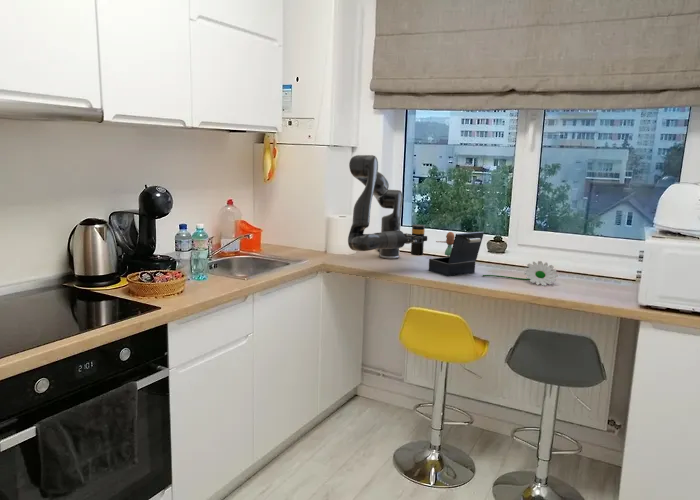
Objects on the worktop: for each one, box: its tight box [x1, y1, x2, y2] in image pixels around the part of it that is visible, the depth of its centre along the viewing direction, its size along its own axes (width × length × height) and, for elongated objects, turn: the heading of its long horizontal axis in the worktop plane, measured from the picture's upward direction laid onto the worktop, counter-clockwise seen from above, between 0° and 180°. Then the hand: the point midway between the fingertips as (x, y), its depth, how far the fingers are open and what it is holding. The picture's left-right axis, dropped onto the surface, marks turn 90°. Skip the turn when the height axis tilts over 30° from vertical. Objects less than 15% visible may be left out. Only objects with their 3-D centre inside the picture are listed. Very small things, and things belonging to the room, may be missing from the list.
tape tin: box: [410, 224, 426, 257], centre depth 237 cm, size 6×6×13 cm
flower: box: [482, 260, 559, 287], centre depth 224 cm, size 13×6×30 cm
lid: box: [448, 231, 485, 264], centre depth 226 cm, size 13×16×4 cm
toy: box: [435, 231, 455, 257], centre depth 254 cm, size 13×4×15 cm, turn 84°
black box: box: [428, 256, 476, 277], centre depth 236 cm, size 13×16×5 cm
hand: (422, 237), depth 239 cm, fingers closed on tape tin, 5 cm apart
